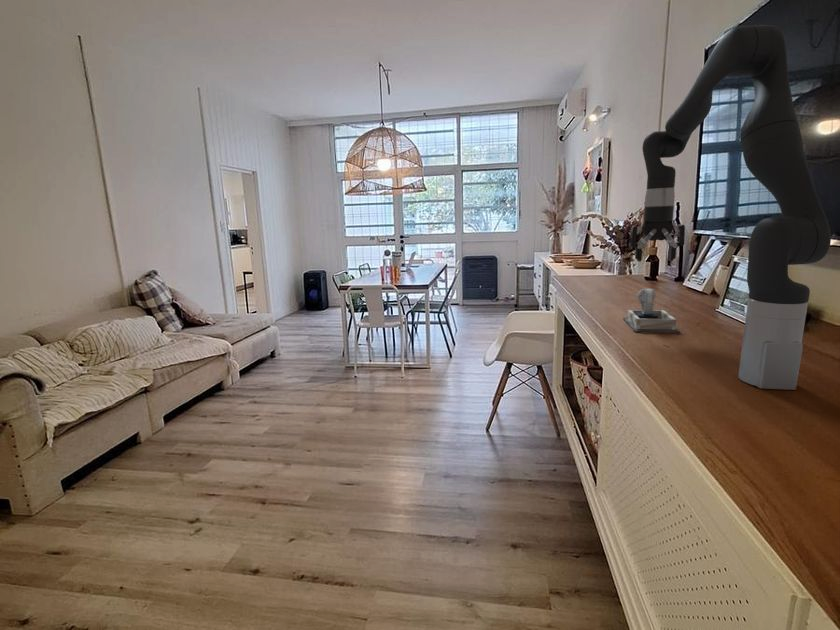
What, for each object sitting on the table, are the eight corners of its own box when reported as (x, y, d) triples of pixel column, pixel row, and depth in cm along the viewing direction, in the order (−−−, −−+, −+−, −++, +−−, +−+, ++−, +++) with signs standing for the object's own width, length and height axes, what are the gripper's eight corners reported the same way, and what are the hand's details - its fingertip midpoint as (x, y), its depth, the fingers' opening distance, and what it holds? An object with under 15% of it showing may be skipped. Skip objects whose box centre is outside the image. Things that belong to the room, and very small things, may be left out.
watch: (653, 321, 137) (656, 286, 135) (658, 327, 130) (661, 291, 127) (633, 320, 139) (636, 286, 136) (637, 326, 132) (639, 291, 129)
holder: (680, 333, 125) (681, 321, 125) (634, 332, 128) (635, 320, 127) (663, 319, 140) (664, 308, 140) (623, 319, 143) (623, 308, 142)
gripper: (635, 206, 124) (631, 263, 128) (691, 203, 121) (685, 262, 125) (629, 206, 131) (626, 260, 135) (682, 203, 128) (677, 259, 132)
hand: (654, 261), depth 130 cm, fingers open, 8 cm apart
